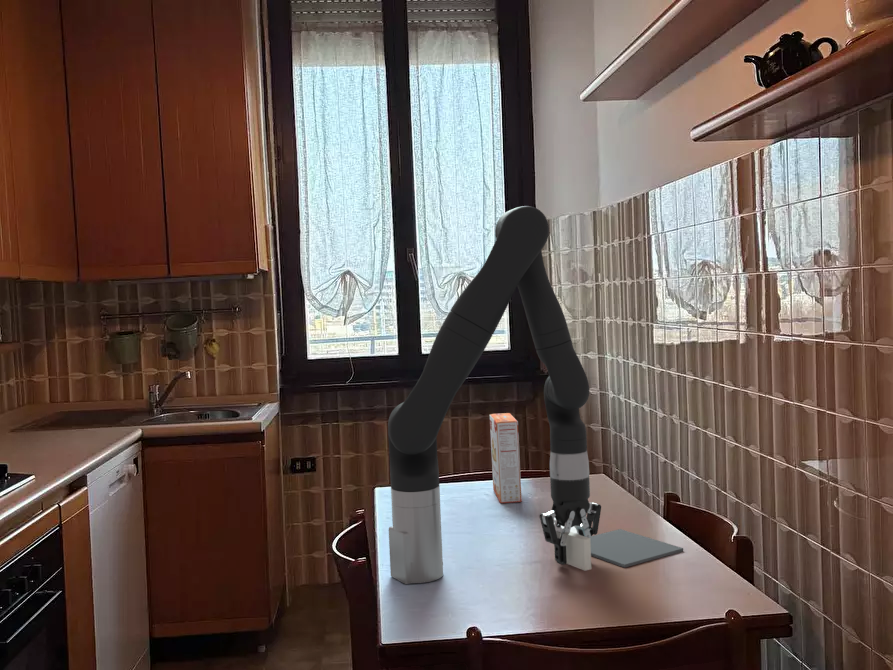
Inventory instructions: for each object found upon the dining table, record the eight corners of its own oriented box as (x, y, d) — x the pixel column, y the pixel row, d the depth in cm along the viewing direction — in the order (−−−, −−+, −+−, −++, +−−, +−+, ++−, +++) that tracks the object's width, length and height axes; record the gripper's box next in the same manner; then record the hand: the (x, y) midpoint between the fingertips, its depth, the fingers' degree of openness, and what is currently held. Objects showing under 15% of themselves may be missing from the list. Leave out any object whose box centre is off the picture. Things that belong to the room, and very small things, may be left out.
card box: (585, 571, 163) (583, 539, 162) (554, 559, 170) (553, 529, 170) (591, 569, 164) (590, 538, 163) (561, 557, 171) (560, 528, 171)
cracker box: (491, 491, 229) (488, 413, 228) (514, 489, 230) (511, 412, 229) (498, 504, 216) (495, 421, 214) (522, 502, 216) (519, 420, 215)
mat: (624, 567, 163) (624, 564, 163) (563, 545, 179) (563, 543, 179) (683, 551, 172) (683, 548, 172) (620, 531, 187) (620, 528, 187)
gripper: (552, 483, 159) (556, 573, 160) (610, 471, 167) (613, 557, 168) (528, 476, 165) (531, 563, 166) (584, 465, 173) (587, 549, 174)
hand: (572, 560), depth 167 cm, fingers open, 5 cm apart
